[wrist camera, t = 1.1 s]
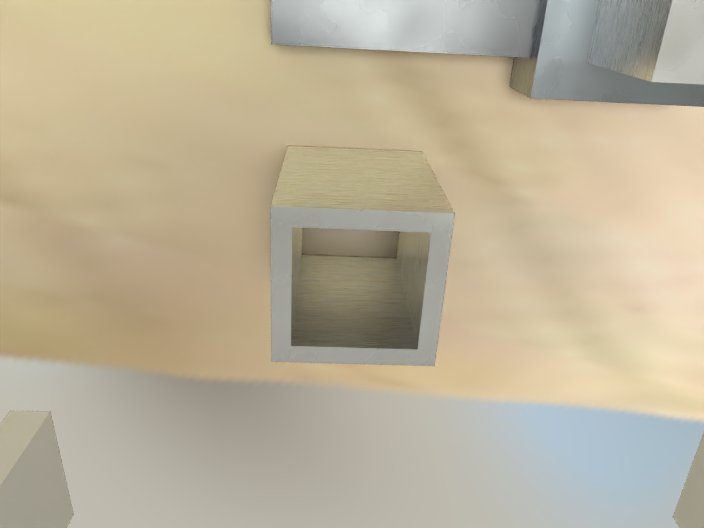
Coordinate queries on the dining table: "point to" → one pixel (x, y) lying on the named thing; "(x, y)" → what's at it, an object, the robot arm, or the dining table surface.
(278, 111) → the dining table surface
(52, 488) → the robot arm
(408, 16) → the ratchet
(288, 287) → the socket
